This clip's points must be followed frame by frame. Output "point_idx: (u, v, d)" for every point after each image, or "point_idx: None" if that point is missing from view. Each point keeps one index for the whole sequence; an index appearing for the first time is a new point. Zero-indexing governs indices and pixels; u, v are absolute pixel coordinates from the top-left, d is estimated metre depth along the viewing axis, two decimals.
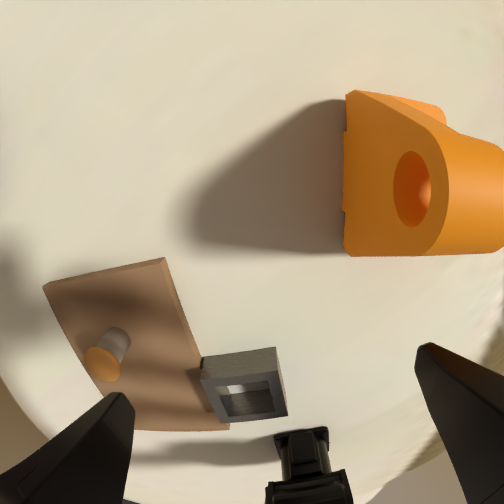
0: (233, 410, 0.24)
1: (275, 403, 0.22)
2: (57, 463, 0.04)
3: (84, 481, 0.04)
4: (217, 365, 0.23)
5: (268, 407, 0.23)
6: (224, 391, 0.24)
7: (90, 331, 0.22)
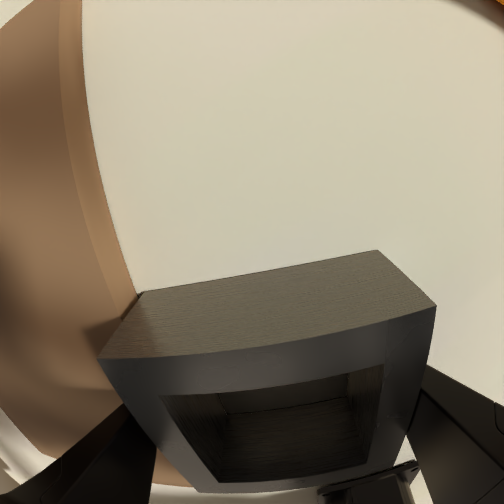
0: (234, 463, 0.07)
1: (377, 443, 0.05)
2: (83, 471, 0.04)
3: (111, 488, 0.04)
4: (175, 311, 0.06)
5: (342, 452, 0.07)
6: (207, 409, 0.07)
7: None
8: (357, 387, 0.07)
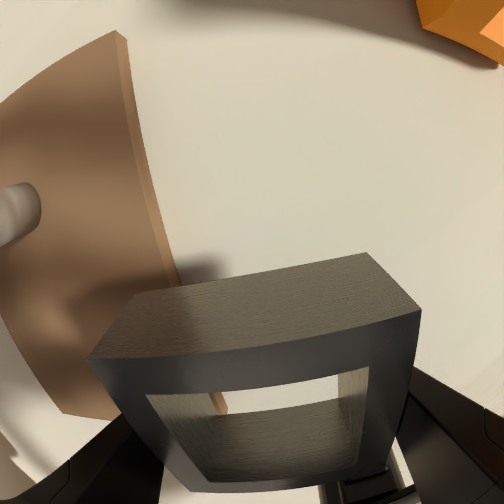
0: (225, 463, 0.07)
1: (365, 446, 0.06)
2: (93, 474, 0.04)
3: (121, 491, 0.04)
4: (164, 312, 0.06)
5: (331, 454, 0.07)
6: (197, 409, 0.07)
7: None
8: (346, 389, 0.07)
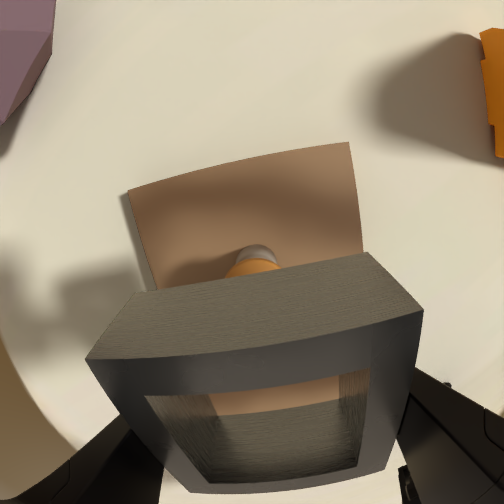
0: (225, 464, 0.07)
1: (366, 447, 0.06)
2: (93, 474, 0.04)
3: (121, 491, 0.04)
4: (163, 313, 0.06)
5: (332, 455, 0.07)
6: (197, 410, 0.07)
7: (205, 257, 0.17)
8: (347, 390, 0.07)
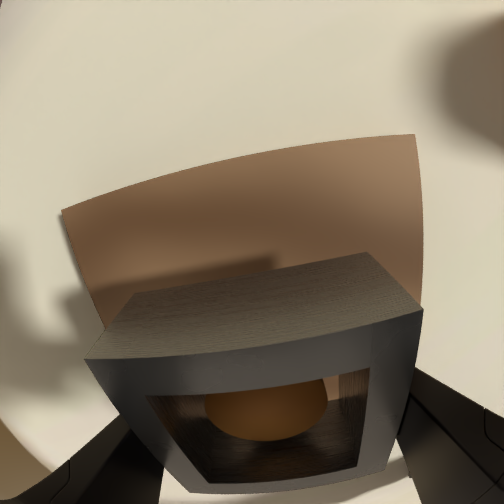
0: (224, 464, 0.07)
1: (366, 447, 0.05)
2: (93, 474, 0.04)
3: (121, 491, 0.04)
4: (162, 312, 0.06)
5: (332, 455, 0.07)
6: (196, 410, 0.07)
7: None
8: (347, 390, 0.07)
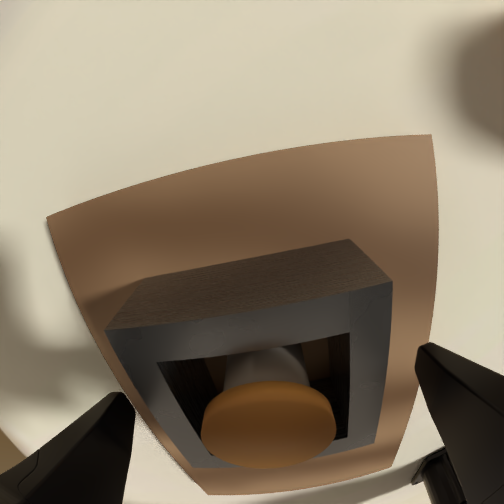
0: None
1: (354, 415, 0.07)
2: (57, 463, 0.04)
3: (84, 481, 0.04)
4: (172, 291, 0.07)
5: None
6: (200, 384, 0.08)
7: None
8: (335, 364, 0.08)
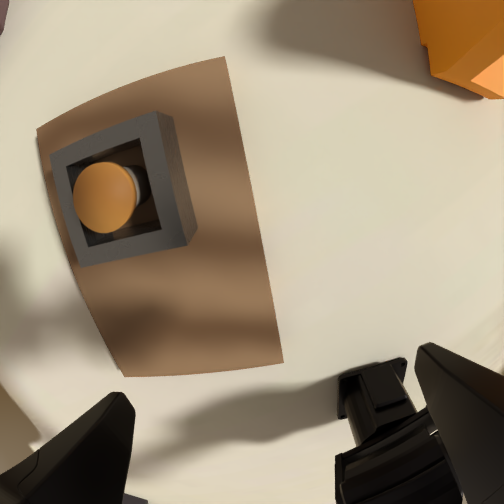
0: (101, 241, 0.14)
1: (158, 203, 0.12)
2: (57, 463, 0.04)
3: (84, 481, 0.04)
4: None
5: (153, 228, 0.13)
6: None
7: None
8: None
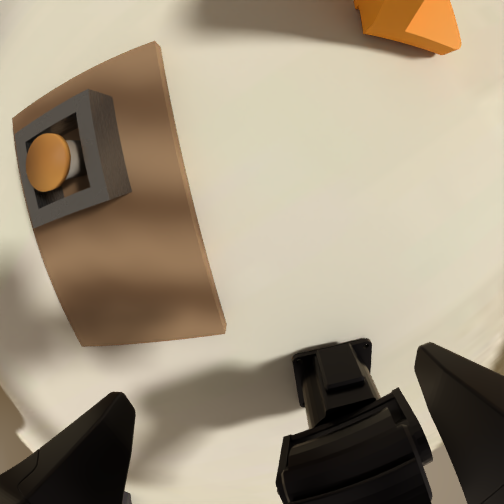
0: None
1: (87, 164, 0.13)
2: (57, 463, 0.04)
3: (84, 481, 0.04)
4: None
5: None
6: None
7: None
8: None
